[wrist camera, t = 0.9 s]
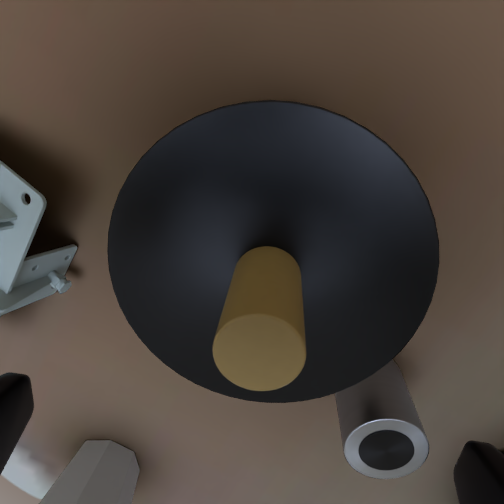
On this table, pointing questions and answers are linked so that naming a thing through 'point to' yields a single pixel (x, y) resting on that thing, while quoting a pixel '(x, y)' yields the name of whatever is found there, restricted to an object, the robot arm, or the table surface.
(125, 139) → the table surface
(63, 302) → the table surface
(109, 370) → the table surface
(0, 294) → the metal bracket
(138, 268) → the black disc with peg
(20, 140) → the table surface
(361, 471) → the socket
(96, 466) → the faceted bottle
